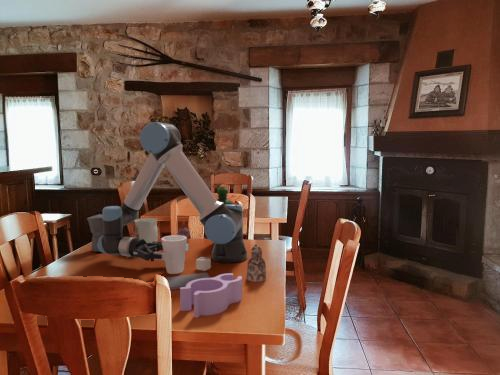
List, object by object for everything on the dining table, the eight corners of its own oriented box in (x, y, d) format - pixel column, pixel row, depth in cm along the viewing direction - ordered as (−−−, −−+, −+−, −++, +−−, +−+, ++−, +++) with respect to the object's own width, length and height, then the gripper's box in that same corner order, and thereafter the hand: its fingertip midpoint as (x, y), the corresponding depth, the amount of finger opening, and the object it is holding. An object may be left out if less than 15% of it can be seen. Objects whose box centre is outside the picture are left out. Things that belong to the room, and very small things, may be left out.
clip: (224, 290, 135) (224, 270, 135) (251, 300, 127) (251, 279, 126) (175, 308, 121) (174, 286, 120) (201, 321, 113) (200, 297, 112)
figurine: (245, 281, 143) (245, 248, 142) (247, 274, 150) (247, 243, 149) (266, 281, 143) (266, 248, 142) (266, 275, 150) (266, 243, 149)
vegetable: (177, 242, 198) (177, 222, 197) (177, 239, 204) (177, 220, 203) (190, 242, 199) (189, 222, 198) (189, 239, 205) (189, 219, 204)
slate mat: (206, 275, 150) (206, 272, 150) (213, 284, 141) (213, 281, 141) (163, 280, 145) (163, 278, 144) (167, 290, 135) (167, 287, 135)
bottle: (209, 241, 201) (208, 185, 197) (230, 239, 204) (229, 184, 201) (215, 246, 191) (214, 187, 187) (236, 244, 194) (236, 186, 191)
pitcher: (150, 241, 200) (150, 214, 199) (164, 249, 185) (163, 220, 184) (128, 244, 194) (127, 216, 193) (140, 253, 179) (139, 223, 178)
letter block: (202, 266, 161) (202, 256, 160) (210, 268, 159) (210, 258, 158) (196, 269, 157) (196, 259, 157) (204, 271, 155) (204, 260, 155)
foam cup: (181, 276, 149) (181, 241, 148) (158, 274, 151) (157, 240, 150) (190, 268, 159) (189, 235, 157) (168, 266, 161) (167, 234, 159)
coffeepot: (83, 252, 182) (78, 212, 182) (97, 247, 191) (93, 209, 190) (111, 251, 177) (107, 210, 177) (124, 246, 186) (120, 208, 185)
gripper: (151, 248, 173) (195, 253, 165) (112, 265, 150) (161, 271, 142) (151, 231, 172) (195, 235, 164) (111, 245, 149) (161, 251, 141)
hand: (180, 252), depth 153 cm, fingers open, 13 cm apart
